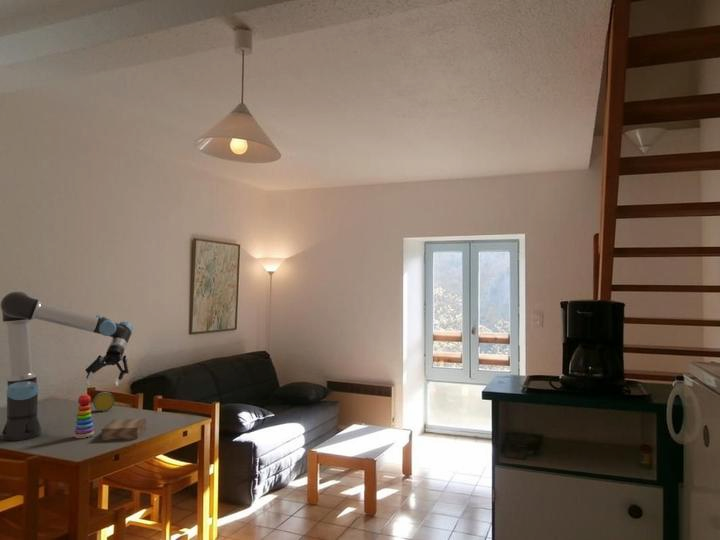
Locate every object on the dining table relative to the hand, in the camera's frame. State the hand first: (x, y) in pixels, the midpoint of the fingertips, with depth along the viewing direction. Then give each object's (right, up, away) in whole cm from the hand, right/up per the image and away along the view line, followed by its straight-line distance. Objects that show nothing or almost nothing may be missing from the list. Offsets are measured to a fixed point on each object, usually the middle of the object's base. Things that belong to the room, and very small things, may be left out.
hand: (101, 384), depth 247 cm
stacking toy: (-1, -20, -13) cm, 24 cm away
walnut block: (+16, -20, -11) cm, 28 cm away
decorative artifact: (-16, -22, +34) cm, 44 cm away
